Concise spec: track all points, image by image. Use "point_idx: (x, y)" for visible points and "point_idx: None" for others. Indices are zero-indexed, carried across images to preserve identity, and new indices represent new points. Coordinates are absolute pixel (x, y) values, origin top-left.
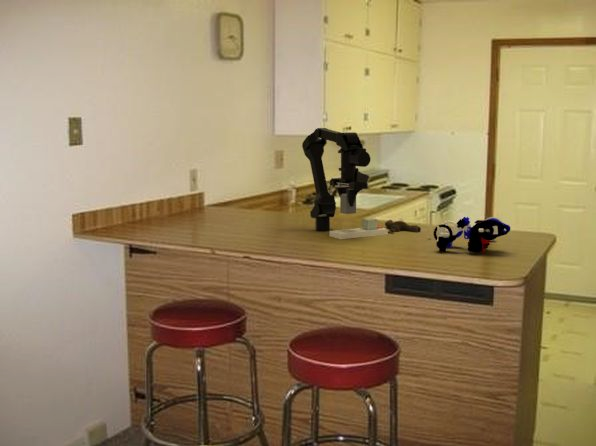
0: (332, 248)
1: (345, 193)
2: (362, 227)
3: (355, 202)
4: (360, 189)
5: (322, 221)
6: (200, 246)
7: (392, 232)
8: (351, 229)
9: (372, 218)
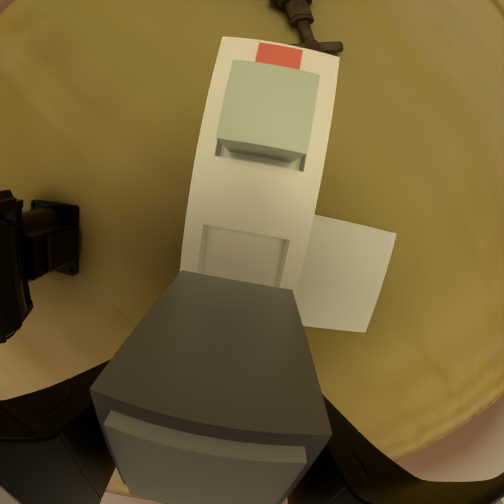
0: (343, 412)
1: (86, 445)
2: (233, 148)
3: (308, 360)
4: (494, 496)
5: (42, 275)
6: (135, 495)
7: (309, 23)
8: (208, 219)
9: (265, 71)
